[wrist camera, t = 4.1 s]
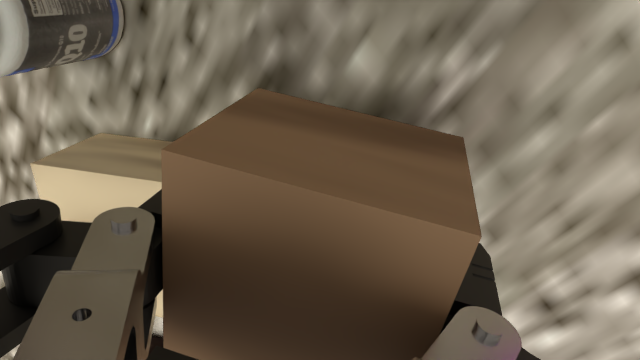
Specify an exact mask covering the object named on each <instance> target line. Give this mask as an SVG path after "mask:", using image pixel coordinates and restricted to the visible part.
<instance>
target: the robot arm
mask: <svg viewBox="0 0 640 360" xmlns="http://www.w3.org/2000/svg"><path fill="white" fill-rule="evenodd" d="M1 270H2V274H3V278H4V282H5V287H3V288H2V289H0V358H1V357H2V356H4V355H5V354H7V353H8V352H9V351H11V350H12V349H13V348H15V347H16V346H17V345H19V344H20V343H21V344H20V346H19V348H18V350H17V352H16V354H15V356H14V358H13V360H198V359H195V358H192V357H189V356H187V355H184V354H181V353H178V352H175V351H172V350H169V349H166V348H163V347H160V346H157V345H156V347H155V348H154V349H153V350H152V352H151V353H150V354H149V349H150V343H151V337H152V331H153V325H154V319H155V313H156V307H157V295H158V294H159V293H160V292H161V291H162V289H163V260H162V189H161V190H160V191H158V192H157V193H156V194H154V195H153V196H152V197H151V198H149V199H148V200H147V201H146V202H144V203H143V204H142V205H140V206H139V207H138V208H136V207H119V208H114V209H110V210H107V211H105V212H103V213H101V214H99V215H98V216H97V217H96V218H95V219H94V220H93V222H76V221H62V220H61V213H60V208H59V207H58V205H56V204H55V203H53V202H51V201H48V200H42V199H26V200H20V201H15V202H11V203H8V204H6V205H3V206H1V207H0V271H1ZM492 270H493V268H492V263H491V258H490V256H489V254H488V253H487V252H486V250H485V249H484V248H483V246H482V245H481V244H480V243H479V244H478V246H477V248H476V251H475V253H474V255H473V258H472V260H471V262H470V265H469V267H468V269H467V272H466V274H465V276H464V279H463V281H462V283H461V286H460V288H459V290H458V293H457V295H456V297H455V300H454V302H453V304H452V307H451V309H450V311H449V314H448V316H447V318H446V321H445V323H444V325H443V328H442V330H441V332H440V335H439V337H438V338H437V339H436V340H435V342H434V343H433V344H432V346H431V347H430V348H429V349H428V351H427V352H426V353H425V355H424V356H423V357H422V358H420V357H418V356H416V357H415V358H413V359H412V360H540V359H539V358H537V357H535V356H533V355H532V354H530V353H529V352H527V351H526V350H525V349H523V348H522V342H521V338H520V336H519V334H518V332H517V330H516V329H515V328H514V327H513V325H512V324H511V323H510V322H509V321H507V320H506V319H505V318H504V317H502V312H501V307H500V302H499V298H498V293H497V288H496V283H495V282H494V281H495V278H494V273H493V271H492ZM148 355H149V356H148Z"/></svg>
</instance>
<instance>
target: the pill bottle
mask: <svg viewBox="0 0 640 360" xmlns="http://www.w3.org/2000/svg"><path fill="white" fill-rule="evenodd" d="M123 24H124V16H123V8H122V4H121V2H120V0H0V77H3V76H8V75H13V74H18V73H23V72H28V71H32V70H38V69H42V68H48V67H53V66H57V65H63V64H68V63H73V62H78V61H83V60H89V59H94V58H97V57H100V56H103V55H105V54H107V53H108V52H110V51H111V50H112V49H113V48H114V47H115V46H116V45H117V44H118V42H119V40H120V39H121V35H122V31H123Z"/></svg>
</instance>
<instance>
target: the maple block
mask: <svg viewBox="0 0 640 360" xmlns="http://www.w3.org/2000/svg"><path fill="white" fill-rule="evenodd" d="M171 143H172V142H170V141H162V140H154V139H145V138H137V137H129V136H121V135H113V134H105V133H100V134H97V135H95V136H93V137H90V138H88V139H86V140H83V141H81V142H79V143H77V144H74V145H72V146H70V147H67V148H65V149H63V150H60V151H58V152H56V153H53V154H51V155H49V156H47V157H44V158H42V159H40V160H37V161H35V162H33V163H30V164H31V168H32V171H33V175H34V179H35V182H36V186H37V189H38V193H39V197H40V199H42V200H48V201H51V202H53V203H55V204H56V205H58V207H59V208H60V213H61V220H62V221H76V222H93V220H94V219H95V218H96V217H97V216H98V215H99V214H101V213H103V212H105V211H107V210H110V209H114V208H119V207H136V208H138V207H139V206H140V205H142V204H143V203H144V202H146V201H147V200H148V199H149V198H151V197H152V196H153V195H154V194H156V193H157V192H158V191H160V190H161V189H162V169H161V149H163V148H165V147H166V146H168V145H169V144H171ZM155 316H158V317H162V318H163V289H162V291H161V292H160V293H159V294H158V295H157V307H156V313H155Z"/></svg>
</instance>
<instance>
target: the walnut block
mask: <svg viewBox="0 0 640 360" xmlns="http://www.w3.org/2000/svg"><path fill="white" fill-rule="evenodd" d="M161 169H162V260H163V348H166V349H169V350H172V351H175V352H178V353H181V354H184V355H187V356H189V357H192V358H195V359H198V360H412V359H413V358H415V357H416V356H418V357H420V358H422V357H423V356H424V355H425V353H426V352H427V351H428V349H429V348H430V347H431V346H432V344H433V343H434V342H435V340H436V339H437V338H438V337H439V335H440V332H441V330H442V328H443V325H444V323H445V321H446V318H447V316H448V314H449V311H450V309H451V307H452V304H453V302H454V300H455V297H456V295H457V293H458V290H459V288H460V286H461V283H462V281H463V279H464V276H465V274H466V272H467V269H468V267H469V265H470V262H471V260H472V258H473V255H474V253H475V251H476V248H477V246H478V244H479V241H480V239H481V237H482V236H481V231H480V225H479V220H478V214H477V209H476V204H475V198H474V193H473V187H472V182H471V176H470V171H469V166H468V160H467V155H466V149H465V144H464V139H463V137H459V136H455V135H451V134H446V133H442V132H438V131H434V130H430V129H426V128H422V127H417V126H413V125H409V124H405V123H401V122H397V121H392V120H388V119H384V118H380V117H376V116H372V115H368V114H363V113H359V112H355V111H351V110H347V109H343V108H339V107H334V106H330V105H326V104H322V103H318V102H314V101H310V100H305V99H301V98H297V97H293V96H289V95H285V94H280V93H276V92H272V91H268V90H264V89H260V88H257V89H256V90H254V91H253V92H251V93H249V94H248V95H246V96H245V97H243V98H242V99H240V100H238V101H237V102H235V103H234V104H232V105H231V106H229V107H227V108H226V109H224V110H223V111H221V112H220V113H218V114H216V115H215V116H213V117H212V118H210V119H209V120H207V121H205V122H204V123H202V124H201V125H199V126H198V127H196V128H194V129H193V130H191V131H190V132H188V133H187V134H185V135H183V136H182V137H180V138H179V139H177V140H176V141H174V142H172V143H171V144H169V145H168V146H166V147H165V148H163V149H161Z"/></svg>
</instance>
